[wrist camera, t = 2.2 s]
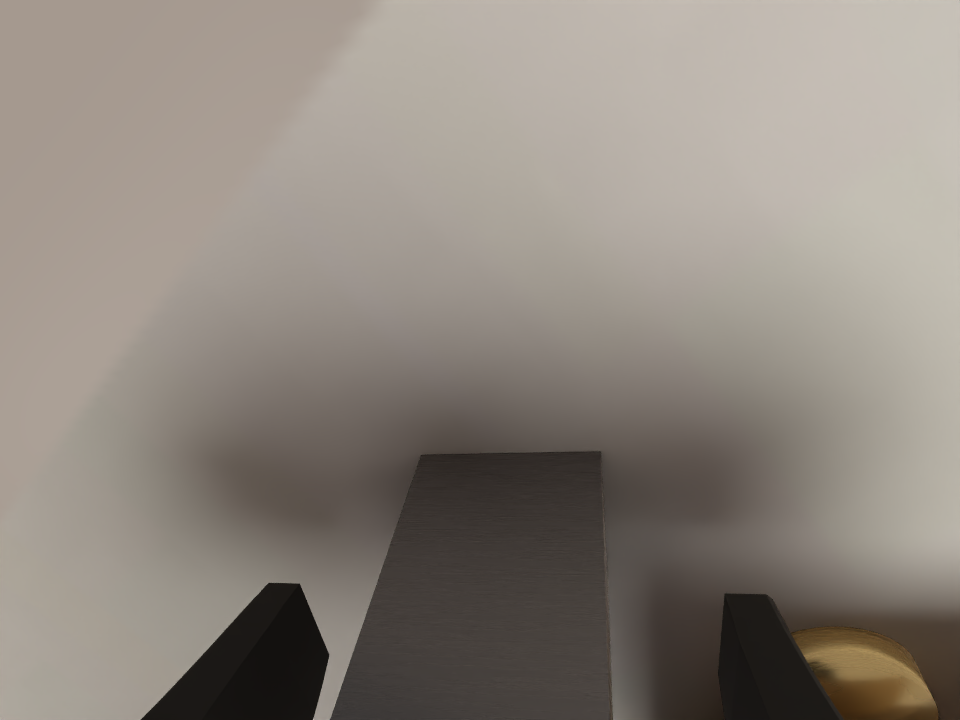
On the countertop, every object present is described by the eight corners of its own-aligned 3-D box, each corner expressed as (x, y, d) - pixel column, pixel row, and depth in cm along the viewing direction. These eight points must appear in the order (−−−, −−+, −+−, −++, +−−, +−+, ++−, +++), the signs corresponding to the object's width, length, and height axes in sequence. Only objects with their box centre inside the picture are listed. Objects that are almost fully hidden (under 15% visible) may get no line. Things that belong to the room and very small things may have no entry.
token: (736, 710, 16) (746, 760, 15) (745, 614, 14) (758, 664, 13) (896, 717, 15) (919, 771, 14) (927, 618, 13) (957, 672, 12)
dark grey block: (421, 455, 13) (324, 737, 8) (600, 451, 12) (610, 758, 7) (477, 696, 17) (435, 978, 12) (614, 703, 16) (626, 1006, 11)
